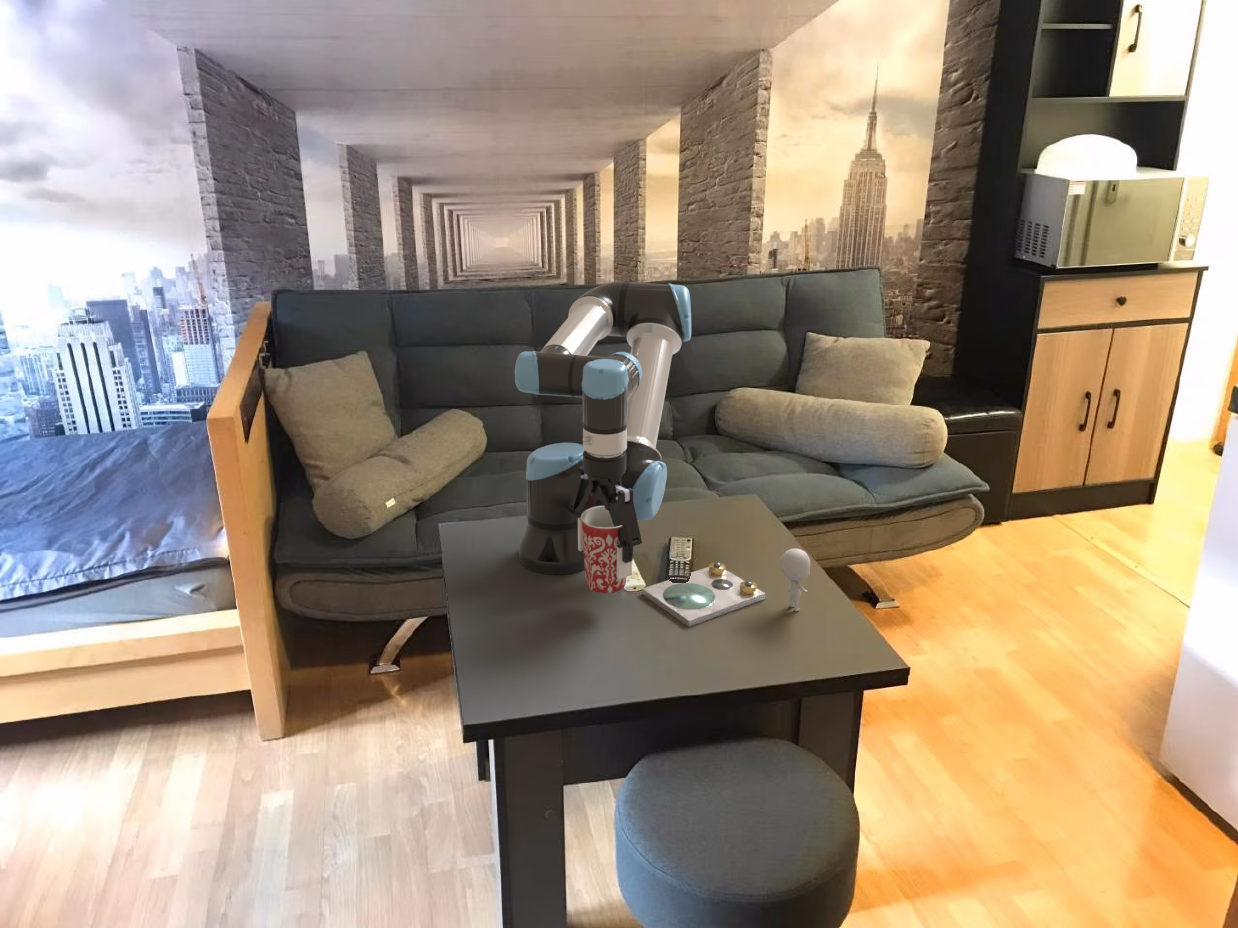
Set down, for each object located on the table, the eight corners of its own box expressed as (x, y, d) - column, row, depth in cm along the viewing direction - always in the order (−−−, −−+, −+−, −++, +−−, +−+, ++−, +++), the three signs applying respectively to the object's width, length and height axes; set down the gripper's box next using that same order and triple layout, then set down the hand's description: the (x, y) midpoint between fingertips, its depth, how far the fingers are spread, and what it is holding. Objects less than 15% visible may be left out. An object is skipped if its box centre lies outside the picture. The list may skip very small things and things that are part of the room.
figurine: (815, 616, 174) (821, 557, 170) (789, 622, 172) (795, 562, 168) (792, 596, 181) (798, 538, 177) (767, 601, 179) (772, 542, 175)
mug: (636, 594, 171) (637, 525, 165) (585, 598, 169) (584, 529, 164) (622, 560, 182) (623, 495, 177) (574, 564, 180) (573, 498, 175)
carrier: (642, 594, 181) (642, 579, 180) (716, 569, 191) (717, 555, 190) (689, 626, 171) (689, 611, 169) (764, 599, 180) (765, 584, 179)
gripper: (549, 433, 173) (551, 541, 181) (627, 478, 155) (625, 596, 163) (584, 425, 177) (585, 531, 185) (664, 468, 159) (661, 584, 167)
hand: (604, 562), depth 174 cm, fingers closed on mug, 12 cm apart
